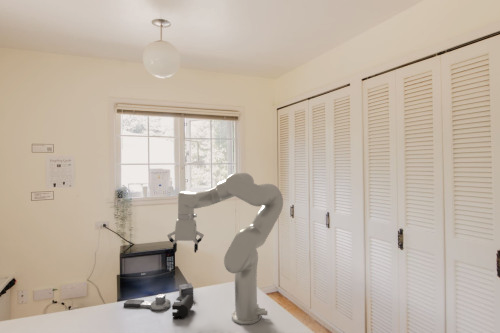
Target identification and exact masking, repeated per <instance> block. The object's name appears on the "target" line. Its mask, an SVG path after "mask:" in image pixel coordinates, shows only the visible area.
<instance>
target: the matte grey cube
mask: <svg viewBox="0 0 500 333" xmlns="http://www.w3.org/2000/svg"><path fill="white" fill-rule="evenodd" d="M178 290H179V292H178V295H179V296H178V297H186V296H187V295H190V296H191V297H192V298H193V299H194V286H193V284H192V282H189V283H188V282H187V283H183V284H178Z"/></svg>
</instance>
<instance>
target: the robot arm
mask: <svg viewBox="0 0 500 333" xmlns="http://www.w3.org/2000/svg"><path fill="white" fill-rule="evenodd" d="M177 195H178V196H177V199H178V200H177V204H178V205H177V219H176V220H175V227H174V228H175V229H174V231H172V232H170V233H169V234H167V238H168V239H169V241H170V243H171V244H172V251H173V253H177V251H178V244H177V242H178V241H183V242H184V241H185V242H186V241H189V242H190V241H193V242H194V248H193V249H194V250H193V252H194V254H195V253H197V251H198V250H199V249H198V247H199V243H200V242H201V241H202V240H203V237H204V235H205V234H203V233H201V232H200V231H198V230H197V229H198V228H197V221H196V218H197V217H198V215H197V214H195V209H201V208H206V207H209V206H210V207H211V206H212V205H215V204H218V203H221V202H224V201H226V200H228V199H231V198H234V197H236V198H238V199H239V200H241V201H243V202H246V203H247V204H249V205H250V206H254V207H261V208H260V209H259V211H258V212H257V213H256V215H255V217H254V219H253V221H252V222H251V223H250V224H249V225H248V226H246V227H244V228H242V229H240V230H239V231H238V232H237V233H236V235H235V236H234V238H233V239H232V241H231V244H230V245H229V246H228V249H227V251H226V253H225V254H224V258H223V264H224V267H225V268H224V269H225V270H227V272H229V273H231V274H234V303H235V304H234V306H235V308H234V309H235V310H234V311H233V312H232V314H231V319H232V321H233V322H235V323H236V324H239V325H253V324H255V323H258V322H259V321H260V320H261V318H262V316H268V309H267V310H266V308H265V307H263V308H261V307H259V304H258V287H257V284H258V283H257V282H258V280H257V279H258V278H257V276H258V275H257V274H258V272H257V270H258V261H259V253H258V250H257V249H258V248H260V247H262V246H263V245H264V244H265V242H266V241H267V239H268V237H269V235H270V234H271V232H272V230H273V228H274V226H275V224H276V222H277V221H278V218H279V217H280V215H281V213H282V212H283V211H282V210H283V207H284V198H283V194H282V191H281V189H279V187H278V186H276V185H274V184H273V183H263V184H256V183H255V180H254V178H253V176H252V175H251V174H249V173H248V172H240V173H239V172H236V173H232V174H230V175H228V177H226V179H222V180H221V181H219V182H217V184H216V186H215V187H212V188H210V189H207V190H203V191H195V192H193V191H191V190H183V191H179V192H178V194H177ZM172 236H174V238H173V237H172ZM197 236H199V238H197Z"/></svg>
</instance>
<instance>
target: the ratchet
mask: <svg viewBox="0 0 500 333" xmlns="http://www.w3.org/2000/svg"><path fill="white" fill-rule="evenodd" d="M171 307H172V305H171V300H170V299H167V298H166V294H165V293H164V294H163V293H161V294H160V293H159V294H157V295H156V296H155V300H154V301H152V300H151V301H150V300H149V301H148V300H146V301H145V299H127V300H126V301H125V302H124V303H123V308H135V309H138V308H139V309H140V308H141V309H142V308H143V309H150V310H151V311H153V312H162V311H166V310H168V309H170V308H171Z"/></svg>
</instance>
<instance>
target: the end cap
mask: <svg viewBox="0 0 500 333" xmlns="http://www.w3.org/2000/svg"><path fill="white" fill-rule="evenodd" d="M176 301H177V302H175V301H174V302H173V304H172V305H171V310H173V311H172V312H171V315H172V320H184V319H185V318H186V317H187V316H188V314H189V312H191V309H192V307H193V306H194V304H195V300H194V297H193V298H192V297H191V296H190V295H187V296H186V297H179V296H178V297H177V298H176ZM175 310H176V311H175Z"/></svg>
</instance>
